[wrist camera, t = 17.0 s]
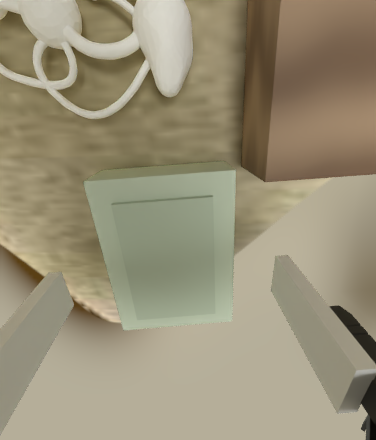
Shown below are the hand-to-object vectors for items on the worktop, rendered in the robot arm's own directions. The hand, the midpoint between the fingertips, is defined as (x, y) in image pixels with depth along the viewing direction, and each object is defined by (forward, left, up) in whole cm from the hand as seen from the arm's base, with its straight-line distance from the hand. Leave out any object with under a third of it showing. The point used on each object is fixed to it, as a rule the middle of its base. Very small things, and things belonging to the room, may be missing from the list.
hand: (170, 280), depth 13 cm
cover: (0, 0, -6) cm, 6 cm away
